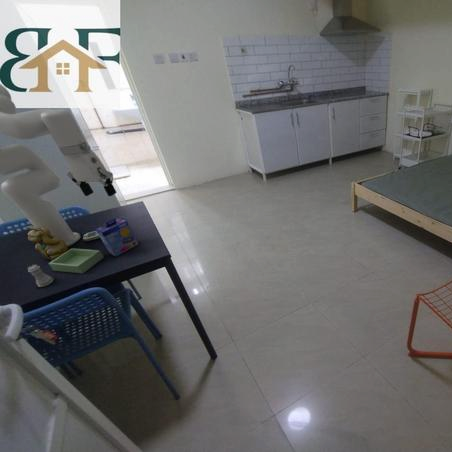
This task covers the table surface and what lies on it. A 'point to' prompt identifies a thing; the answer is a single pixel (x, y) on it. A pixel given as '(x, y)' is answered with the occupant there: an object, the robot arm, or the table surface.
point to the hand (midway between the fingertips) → (101, 194)
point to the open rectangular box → (76, 260)
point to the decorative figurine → (47, 242)
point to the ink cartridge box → (117, 236)
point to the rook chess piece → (40, 276)
